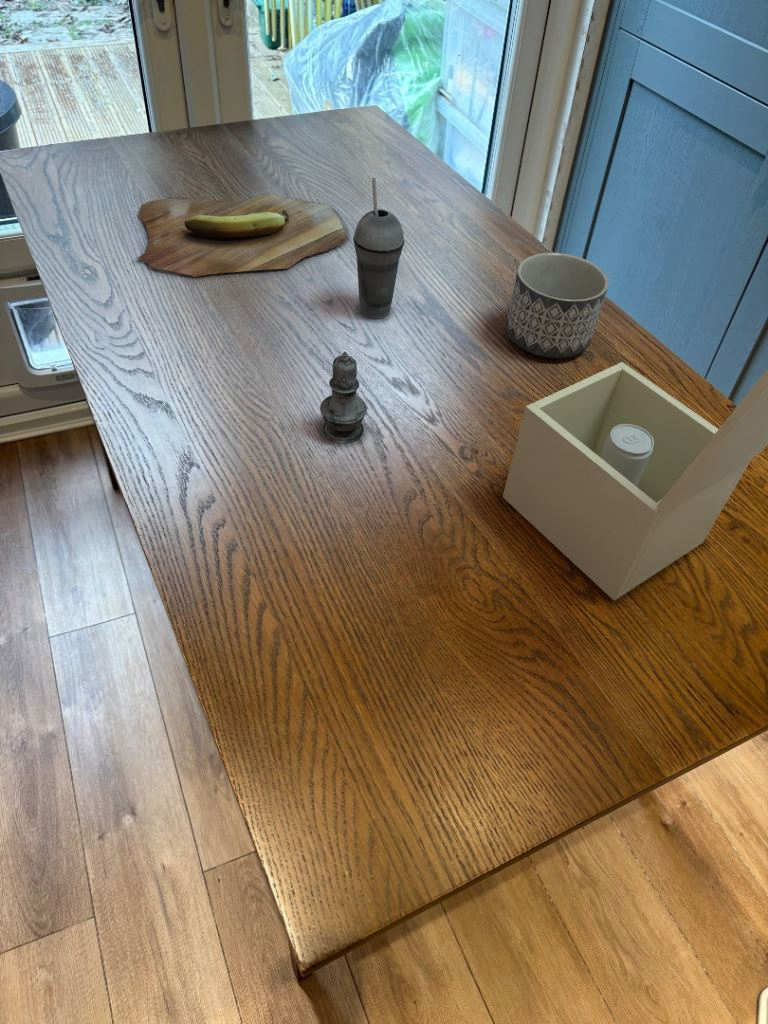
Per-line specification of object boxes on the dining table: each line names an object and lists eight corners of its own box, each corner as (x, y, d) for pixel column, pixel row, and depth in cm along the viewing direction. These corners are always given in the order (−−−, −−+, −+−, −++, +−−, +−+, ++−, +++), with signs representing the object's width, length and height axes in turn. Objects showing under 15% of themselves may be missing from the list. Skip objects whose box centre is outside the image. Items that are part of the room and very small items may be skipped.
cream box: (502, 497, 89) (525, 406, 79) (589, 451, 96) (622, 361, 85) (614, 601, 80) (657, 513, 69) (703, 542, 86) (754, 454, 76)
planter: (494, 350, 109) (507, 286, 101) (516, 306, 117) (530, 244, 109) (579, 373, 106) (599, 310, 99) (596, 327, 115) (615, 265, 107)
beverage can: (629, 524, 86) (665, 447, 77) (594, 535, 85) (626, 458, 76) (605, 495, 89) (637, 418, 80) (571, 506, 87) (599, 428, 79)
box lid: (775, 358, 54) (784, 365, 53) (885, 300, 60) (893, 306, 60) (655, 506, 69) (662, 513, 69) (753, 448, 76) (759, 453, 75)
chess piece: (356, 450, 93) (359, 372, 84) (312, 437, 94) (311, 359, 85) (372, 421, 97) (377, 344, 88) (330, 409, 98) (331, 332, 89)
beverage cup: (390, 329, 111) (399, 196, 96) (344, 318, 112) (346, 185, 98) (404, 304, 116) (416, 174, 101) (360, 293, 117) (365, 164, 102)
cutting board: (139, 283, 115) (134, 260, 112) (132, 202, 133) (128, 180, 130) (360, 265, 123) (361, 243, 120) (326, 190, 140) (326, 169, 137)
